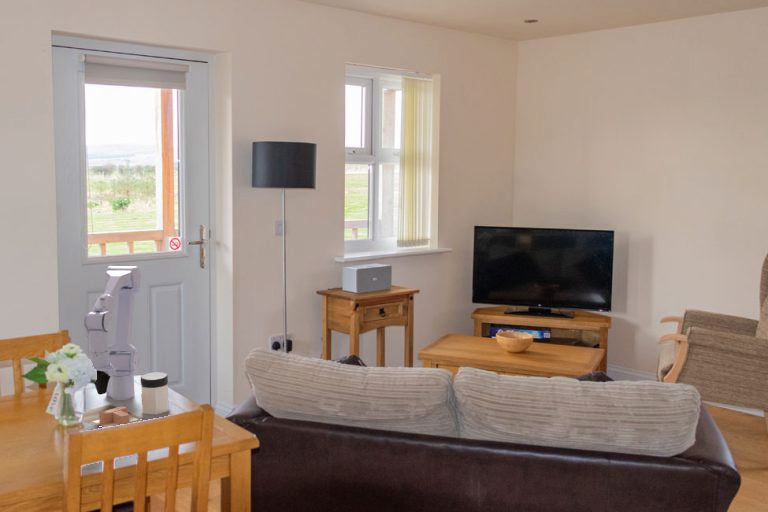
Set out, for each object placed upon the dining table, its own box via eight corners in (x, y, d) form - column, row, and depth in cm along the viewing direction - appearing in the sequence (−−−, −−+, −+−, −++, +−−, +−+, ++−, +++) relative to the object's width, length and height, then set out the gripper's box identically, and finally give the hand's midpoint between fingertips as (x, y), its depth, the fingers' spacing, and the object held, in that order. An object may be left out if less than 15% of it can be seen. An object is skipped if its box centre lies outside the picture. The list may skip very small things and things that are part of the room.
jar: (142, 409, 253) (140, 372, 251) (168, 406, 255) (167, 370, 253) (142, 418, 244) (140, 381, 243) (169, 416, 247) (168, 378, 245)
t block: (99, 422, 239) (99, 412, 238) (123, 415, 245) (123, 405, 244) (113, 428, 234) (113, 418, 233) (137, 421, 239) (137, 411, 239)
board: (71, 418, 245) (71, 414, 245) (110, 407, 255) (110, 404, 254) (105, 434, 232) (105, 430, 232) (144, 422, 242) (144, 418, 241)
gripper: (75, 349, 244) (77, 391, 246) (99, 358, 234) (102, 402, 236) (96, 344, 249) (99, 385, 251) (121, 353, 239) (123, 396, 242)
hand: (102, 393), depth 244 cm, fingers closed
